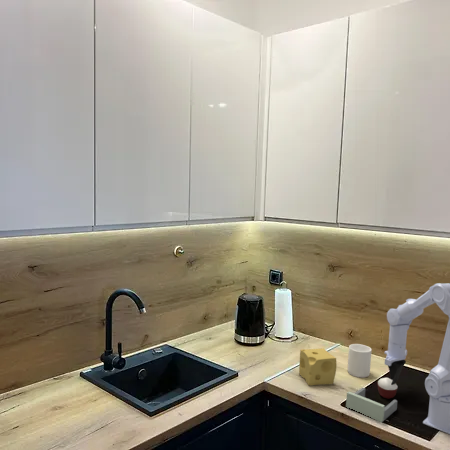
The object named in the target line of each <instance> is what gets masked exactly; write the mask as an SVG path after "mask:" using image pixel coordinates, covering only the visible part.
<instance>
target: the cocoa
mask: <svg viewBox="0 0 450 450" xmlns="http://www.w3.org/2000/svg"><path fill="white" fill-rule="evenodd" d="M402 369H403V368H398V370H397V372H396V375H395V377H394V379H393V380H392V379H391V378H389V377H382V378H380V379H378V381H377V382H376V387H377V390H378V393H379V395H380V396H381V397H382V398H384V399H393V398H394V397H395V396H396V395H397V391H398V385H397V382H398V380H399V379H398V377H399V378H400V376H399V374H400V375H401V373H400V372H402ZM397 379H398V380H397Z"/></svg>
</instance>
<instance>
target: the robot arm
mask: <svg viewBox="0 0 450 450" xmlns="http://www.w3.org/2000/svg"><path fill="white" fill-rule="evenodd" d="M405 301H406V302H404V303H402V304H398V306H397V308H389V310H388V311H387V312H386V320H387V322H388V323H389V332H388V333H389V334H388V345H387V350H385V351H384V354H385V355H386V357H385V358H384V365H385V366H387V368H388V370H389V372H388V373H389V376H390V379H391V380H393V379H394V377H395V375H396V372H397V370H398V368H402V369H403V368H404V366H405V364H406V363H407V361H406V360H405V359H406V358H407V356H408V350H407V335H408V330H409V329H410V325H412V322H413V320H415V319H416V318H417V317H419V316H421V315H422V314H423V313H424V309H426V308H427V307H430V306H431V305H434V304H436V306H438V308H439V309H440V310H441V312H443V314H444V315H447V316H448V321H447V326H446V330H445V334H444V339H443V341H442V346H441V350H440V354H439V359H438V363H437V365H435V366H434V367H433V368H432V369H430V371H429V374H428V376H427V377H426V378H425V380H424V387H425V391H426V393H427V394H428V395H429V404H428V414H427V417H426V418H425V419H424V420H423V421H422V424H423V425H426V426H428V427H430V428H434V429H436V430H439V431H441V432H444V433H445V434H448V435H450V283H442V282H441V283H440V282H439V283H434V284H433V285H431V286H430V287H429V289H428V290H427V291H425V292H424V293H423V294H421V295H420V296H419V297H418V298H416V299H415V298H407V299H405ZM401 372H402V371H401ZM401 372H400V374H399V377H398V379H397V381H398V380H399V378H400V376H401Z"/></svg>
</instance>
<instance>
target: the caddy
mask: <svg viewBox="0 0 450 450" xmlns="http://www.w3.org/2000/svg"><path fill="white" fill-rule="evenodd" d="M345 407H347V409H349V408H350V409H349V410H351V409H353V410H355V411H354V412H356V411H357V412H356V413H358V412H360V413H362V414H361V415H363V414H364V415H363V416H365V415H366V416H365V417H367V416H369V417H368V418H370V417H371V418H370V419H372V420H374V419H375V421H377V422H380V423H383V422H384V421H385V420H386V419H388V418H389V417H390V416H391V415H392V414H393V413H394V412H396V411H397V408H398V400H397V399H393V400H392V401H391V402H390V403H388V404H386V405H384V404H382V403H380V402H377V401H375V400H372V399H370V398H367V397H366V388H365V387H362V388H360V389H358V390H357V391H356V392H352V391H347V392H346V401H345ZM353 410H352V411H353ZM360 413H359V414H360Z"/></svg>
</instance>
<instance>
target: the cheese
mask: <svg viewBox="0 0 450 450" xmlns="http://www.w3.org/2000/svg"><path fill="white" fill-rule="evenodd" d="M298 368H299V369H298V371H299V373H298V374H299V375H300V376H301V377H302V378H303V379H305V383H306V384H307V385H308V386H309V387H310V386H312V387H313V386H318V385H319V386H321V385H322V386H323V385H333V384H334V382H335V378H336V372H337V357H335V356H334V355H332V354H331V353H330V352H328V351H327V349H325V348H309V349H308V348H307V349H304V348H303V349H300V351H299V367H298Z"/></svg>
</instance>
